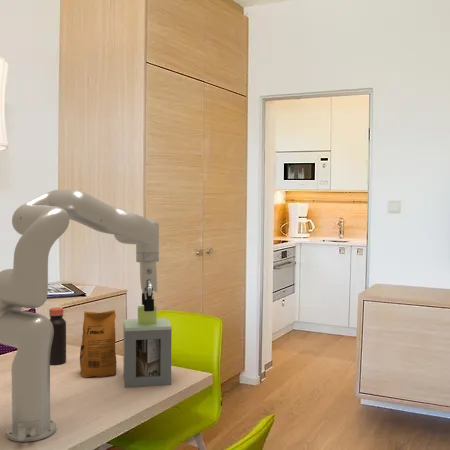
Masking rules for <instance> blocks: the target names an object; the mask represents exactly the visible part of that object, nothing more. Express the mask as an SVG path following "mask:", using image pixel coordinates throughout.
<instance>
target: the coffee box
mask: <svg viewBox="0 0 450 450" xmlns="http://www.w3.org/2000/svg"><path fill="white" fill-rule="evenodd" d="M159 375H160V339H147V340H136V377H142V376H147V377H149V376H159Z"/></svg>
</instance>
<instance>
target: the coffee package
mask: <svg viewBox="0 0 450 450" xmlns="http://www.w3.org/2000/svg"><path fill="white" fill-rule="evenodd" d="M83 316H84V317H83V323H82V324H83V326H82V336H81V338H82V340H81V344H80V351H79V366H80V367H79V368H80V376H82V378H85V379H86V378H92V377H97V378H103V377H105V378H106V377H110V376H114V375H116V372H117V355H116V323H115V322H116V310H115V309H112V310H108V311H101V312H94V311H84V313H83Z"/></svg>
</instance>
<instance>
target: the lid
mask: <svg viewBox="0 0 450 450" xmlns="http://www.w3.org/2000/svg"><path fill="white" fill-rule="evenodd" d="M172 327H173V326H172V325H171V322H170V321H169V319H168V318H167V317H163V318H162V317H160V318H157V305H154V311H146V312H145V311H144V305H137V318H135V319H134V318H132V319H123V329H124V328H125V331H145V330H169V329H173V328H172Z"/></svg>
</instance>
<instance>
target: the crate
mask: <svg viewBox="0 0 450 450" xmlns="http://www.w3.org/2000/svg"><path fill="white" fill-rule="evenodd" d="M172 329H173V328H172ZM172 329H169V330H145V331H125V328H124V327H123V346H122V347H123V353H122V355H123V356H122V357H123V361H122V362H123V364H122V365H123V367H122V368H123V372H122V373H123V383H124V388H139V387H154V386H170V385H172ZM147 339H160V375H159V376H149V377H147V376H142V377H136V340H147Z"/></svg>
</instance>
